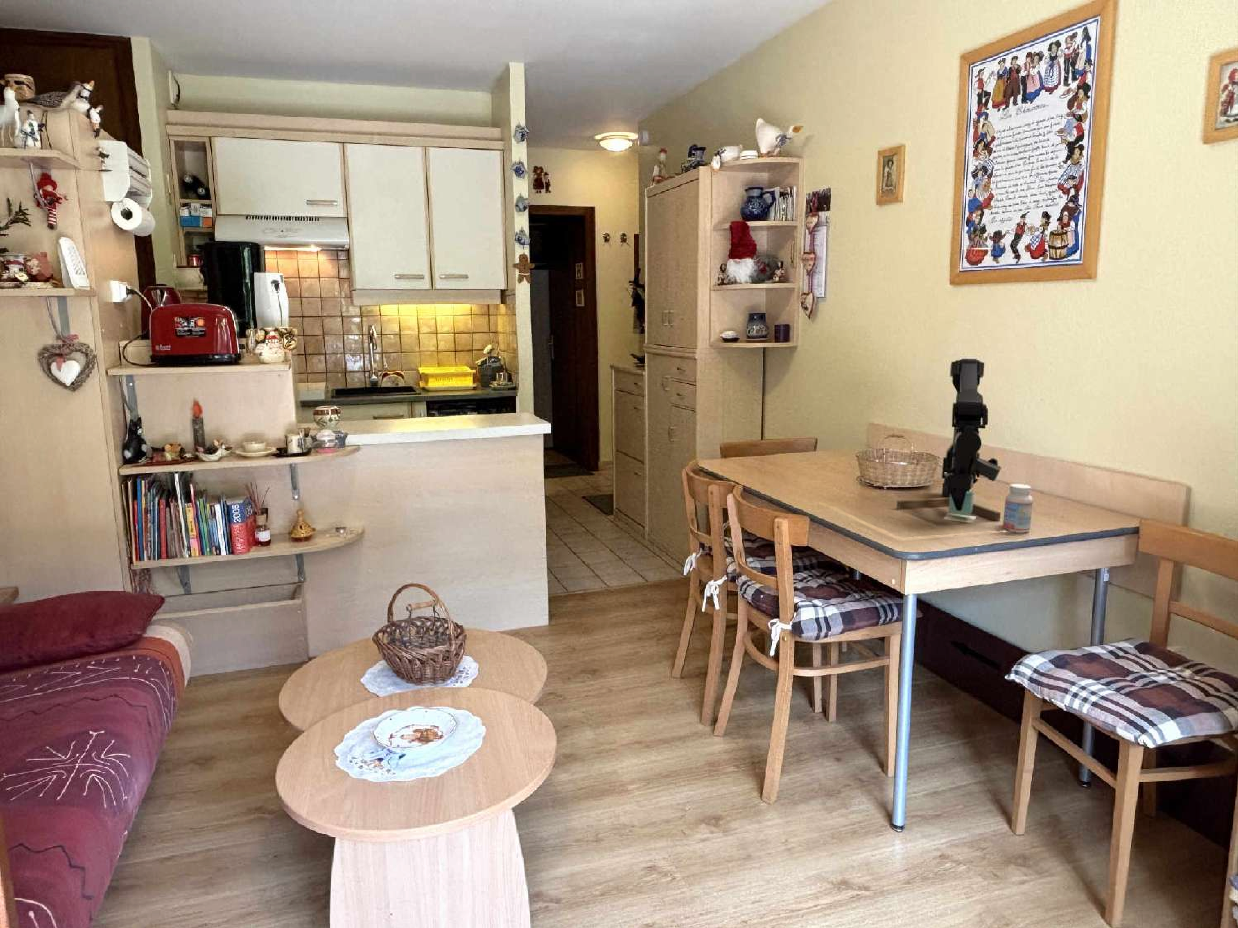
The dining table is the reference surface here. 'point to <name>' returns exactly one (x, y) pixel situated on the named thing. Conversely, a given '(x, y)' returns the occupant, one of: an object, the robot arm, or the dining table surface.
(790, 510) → the dining table surface
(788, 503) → the dining table surface
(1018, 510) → the pill bottle
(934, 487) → the dining table surface
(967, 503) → the teal block
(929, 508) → the arena
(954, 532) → the dining table surface
